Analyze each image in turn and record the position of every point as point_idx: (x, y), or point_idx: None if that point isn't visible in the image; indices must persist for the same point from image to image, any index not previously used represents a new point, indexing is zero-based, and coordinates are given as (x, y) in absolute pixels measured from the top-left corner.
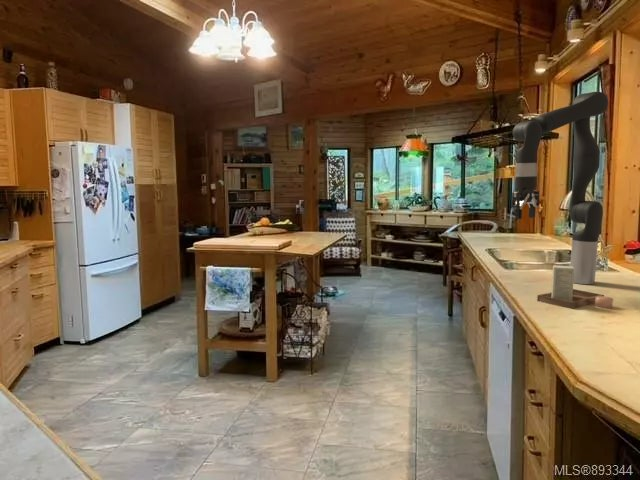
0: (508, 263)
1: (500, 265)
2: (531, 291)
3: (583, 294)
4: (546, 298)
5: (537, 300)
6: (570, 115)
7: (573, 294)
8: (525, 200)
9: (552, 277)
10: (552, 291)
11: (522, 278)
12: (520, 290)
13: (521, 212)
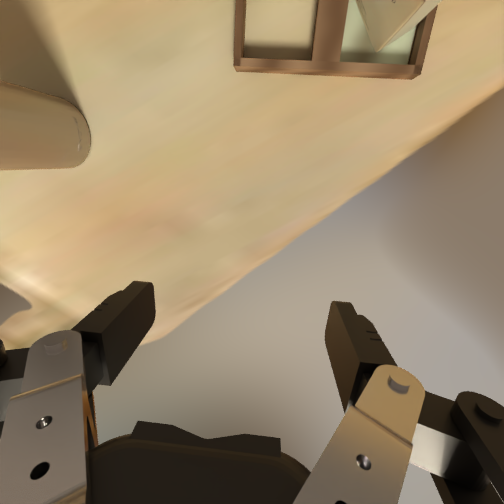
0: None
1: None
2: (298, 160)
3: (244, 10)
4: (427, 39)
5: (412, 78)
6: None
7: (243, 51)
8: (359, 473)
9: (410, 16)
10: (424, 16)
11: (162, 260)
12: (310, 186)
13: (358, 337)
